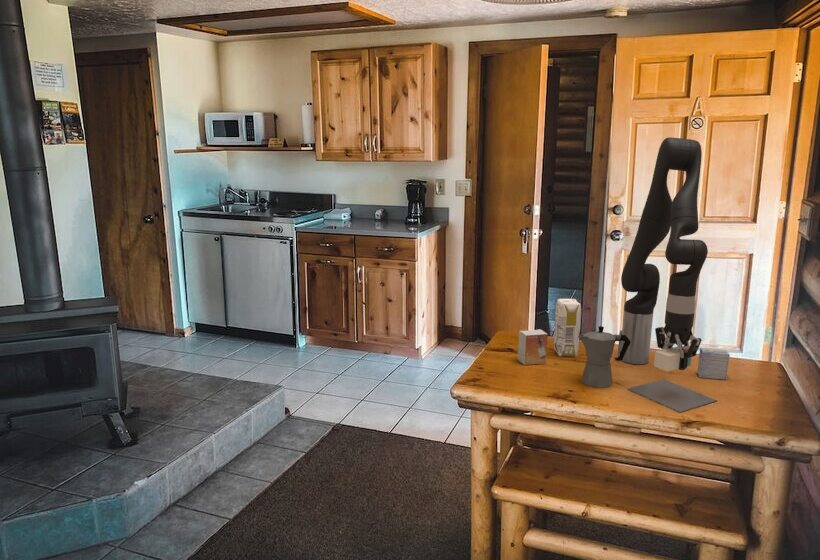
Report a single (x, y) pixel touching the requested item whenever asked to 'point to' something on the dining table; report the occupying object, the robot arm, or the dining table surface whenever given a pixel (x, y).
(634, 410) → the dining table surface
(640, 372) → the dining table surface
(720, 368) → the medicine box
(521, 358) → the small box
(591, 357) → the coffeepot
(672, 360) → the block
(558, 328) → the juice carton
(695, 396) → the board
